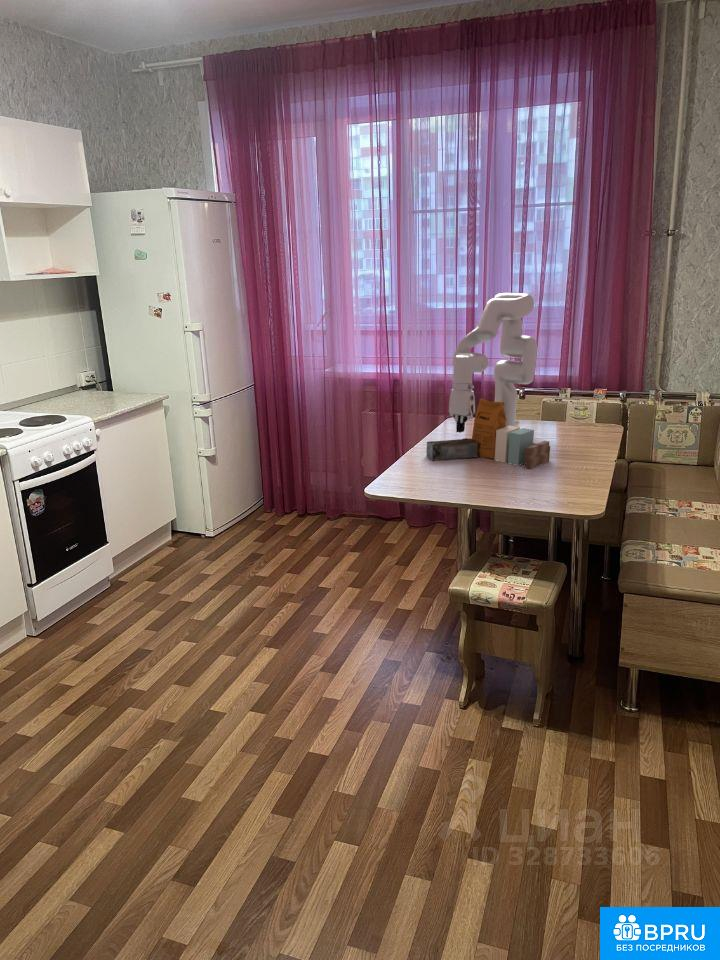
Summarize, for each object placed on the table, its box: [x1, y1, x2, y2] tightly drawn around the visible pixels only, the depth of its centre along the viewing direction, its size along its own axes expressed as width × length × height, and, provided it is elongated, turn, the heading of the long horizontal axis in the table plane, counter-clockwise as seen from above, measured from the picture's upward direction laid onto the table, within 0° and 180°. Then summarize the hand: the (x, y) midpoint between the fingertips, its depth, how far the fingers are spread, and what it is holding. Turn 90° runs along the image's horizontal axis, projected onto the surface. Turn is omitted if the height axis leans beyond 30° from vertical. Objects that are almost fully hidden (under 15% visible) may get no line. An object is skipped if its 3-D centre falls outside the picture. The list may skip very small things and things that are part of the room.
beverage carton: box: [425, 437, 479, 461], centre depth 287 cm, size 8×19×7 cm, turn 104°
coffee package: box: [471, 398, 506, 460], centre depth 287 cm, size 10×12×22 cm
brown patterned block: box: [523, 440, 551, 470], centre depth 282 cm, size 15×20×8 cm
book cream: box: [494, 425, 521, 463], centre depth 284 cm, size 10×4×12 cm, turn 140°
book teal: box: [507, 427, 535, 466], centre depth 280 cm, size 10×4×12 cm, turn 137°
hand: (460, 431), depth 298 cm, fingers closed
